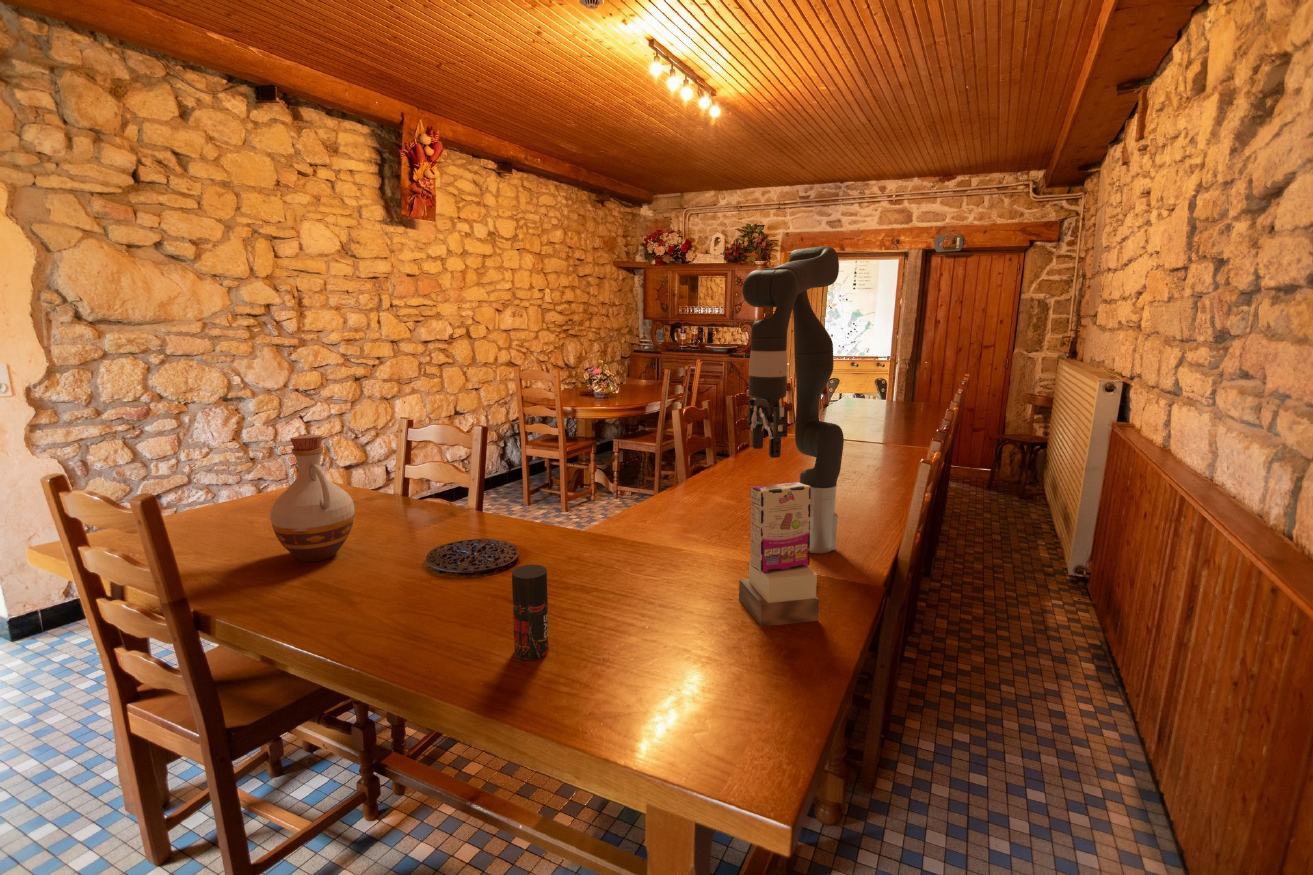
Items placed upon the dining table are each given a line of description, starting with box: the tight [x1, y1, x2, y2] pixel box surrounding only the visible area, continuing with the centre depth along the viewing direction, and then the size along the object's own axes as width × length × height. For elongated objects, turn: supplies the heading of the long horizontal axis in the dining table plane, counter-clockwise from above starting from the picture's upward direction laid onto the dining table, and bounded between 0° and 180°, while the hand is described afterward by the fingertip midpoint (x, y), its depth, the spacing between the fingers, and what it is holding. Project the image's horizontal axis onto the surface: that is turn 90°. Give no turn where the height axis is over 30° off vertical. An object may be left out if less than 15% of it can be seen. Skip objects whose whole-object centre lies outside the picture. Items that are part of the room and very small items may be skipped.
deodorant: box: [511, 564, 550, 662], centre depth 107 cm, size 6×6×15 cm
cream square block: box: [748, 558, 818, 603], centre depth 123 cm, size 10×10×5 cm
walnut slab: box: [738, 578, 820, 628], centre depth 125 cm, size 12×12×5 cm
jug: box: [269, 434, 355, 563], centre depth 147 cm, size 20×18×30 cm
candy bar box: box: [750, 481, 811, 573], centre depth 122 cm, size 11×5×16 cm, turn 110°
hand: (765, 452), depth 126 cm, fingers open, 8 cm apart
